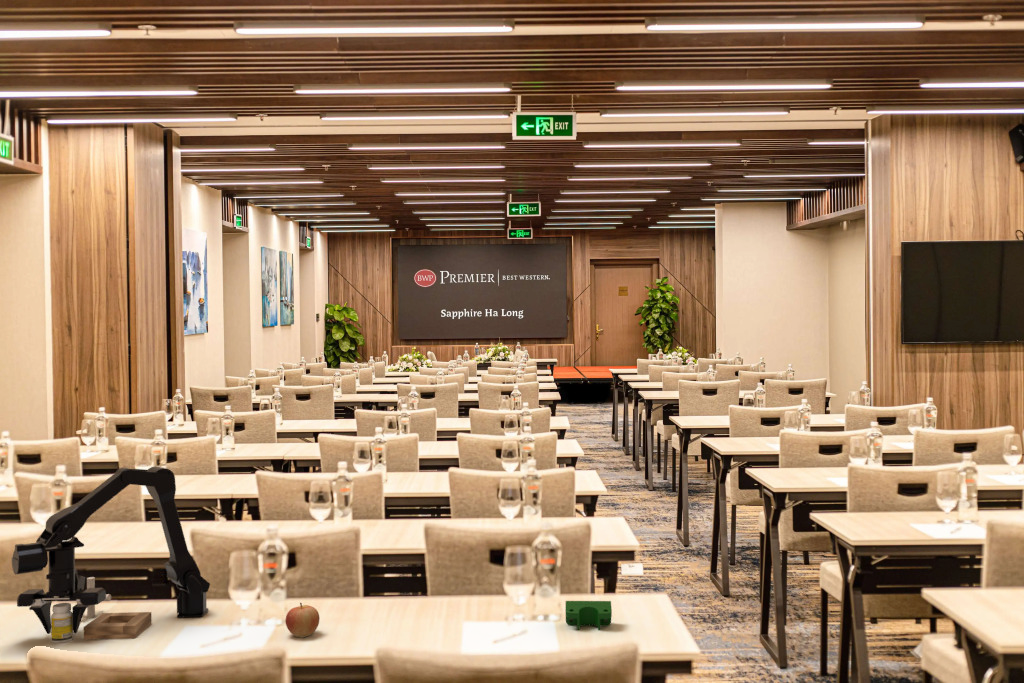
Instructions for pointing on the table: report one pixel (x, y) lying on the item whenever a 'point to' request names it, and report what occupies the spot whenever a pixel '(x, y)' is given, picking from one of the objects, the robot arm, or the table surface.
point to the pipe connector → (92, 607)
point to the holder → (117, 625)
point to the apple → (302, 620)
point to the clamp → (588, 613)
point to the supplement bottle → (61, 623)
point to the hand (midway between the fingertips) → (62, 633)
